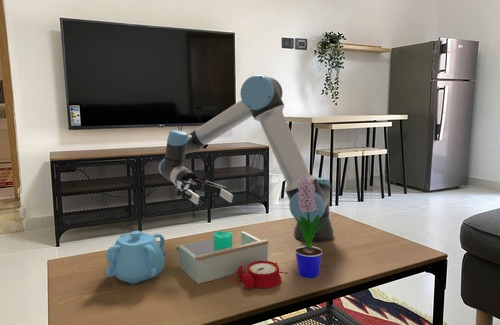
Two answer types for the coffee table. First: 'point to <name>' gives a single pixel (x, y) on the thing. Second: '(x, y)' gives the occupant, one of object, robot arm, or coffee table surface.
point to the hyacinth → (308, 231)
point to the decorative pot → (136, 257)
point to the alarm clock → (260, 275)
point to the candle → (222, 240)
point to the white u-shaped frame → (223, 259)
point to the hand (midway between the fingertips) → (215, 199)
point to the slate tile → (200, 247)
